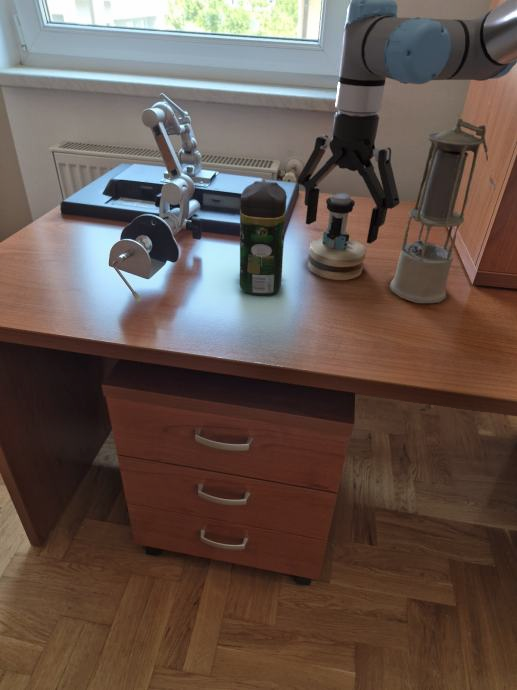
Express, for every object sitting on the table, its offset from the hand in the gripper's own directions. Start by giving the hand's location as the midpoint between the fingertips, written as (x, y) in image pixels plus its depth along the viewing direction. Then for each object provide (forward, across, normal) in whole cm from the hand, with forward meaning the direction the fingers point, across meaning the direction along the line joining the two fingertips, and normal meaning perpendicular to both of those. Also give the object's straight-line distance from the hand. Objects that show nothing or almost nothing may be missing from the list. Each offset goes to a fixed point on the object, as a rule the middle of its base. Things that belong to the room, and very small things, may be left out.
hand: (340, 231), depth 93 cm
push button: (+3, 0, 0) cm, 3 cm away
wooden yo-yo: (+8, 0, 0) cm, 8 cm away
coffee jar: (+8, +7, +16) cm, 19 cm away
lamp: (+8, -18, -3) cm, 20 cm away
